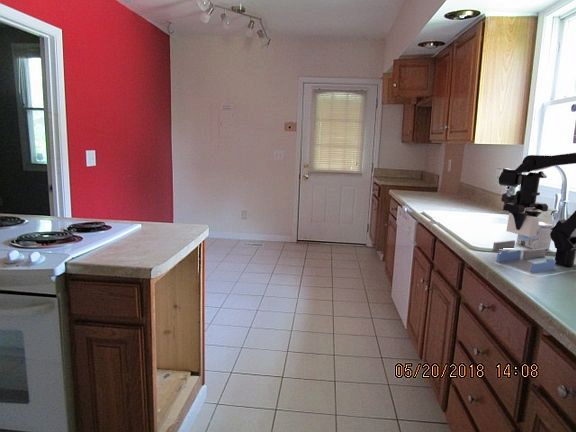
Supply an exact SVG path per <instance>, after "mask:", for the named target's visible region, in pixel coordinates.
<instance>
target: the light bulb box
mask: <svg viewBox="0 0 576 432" xmlns="http://www.w3.org/2000/svg"><path fill="white" fill-rule="evenodd" d="M554 226H555V225H554V224H550V223H547V222H544V221H543V222H542V221H539V224H538V230H537V235H536V236H532V237H528V236H524V235H520V234H517V237H516V241H515V244H517V245H520V246H524V247H527V248H529V249H532V248H534V249H542V248H545V249H549V250H550V247H551V242H552V239H551V237H550V233H551V231H552V230H551V229H552V228H553V227H554ZM534 249H533V250H534Z"/></svg>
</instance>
